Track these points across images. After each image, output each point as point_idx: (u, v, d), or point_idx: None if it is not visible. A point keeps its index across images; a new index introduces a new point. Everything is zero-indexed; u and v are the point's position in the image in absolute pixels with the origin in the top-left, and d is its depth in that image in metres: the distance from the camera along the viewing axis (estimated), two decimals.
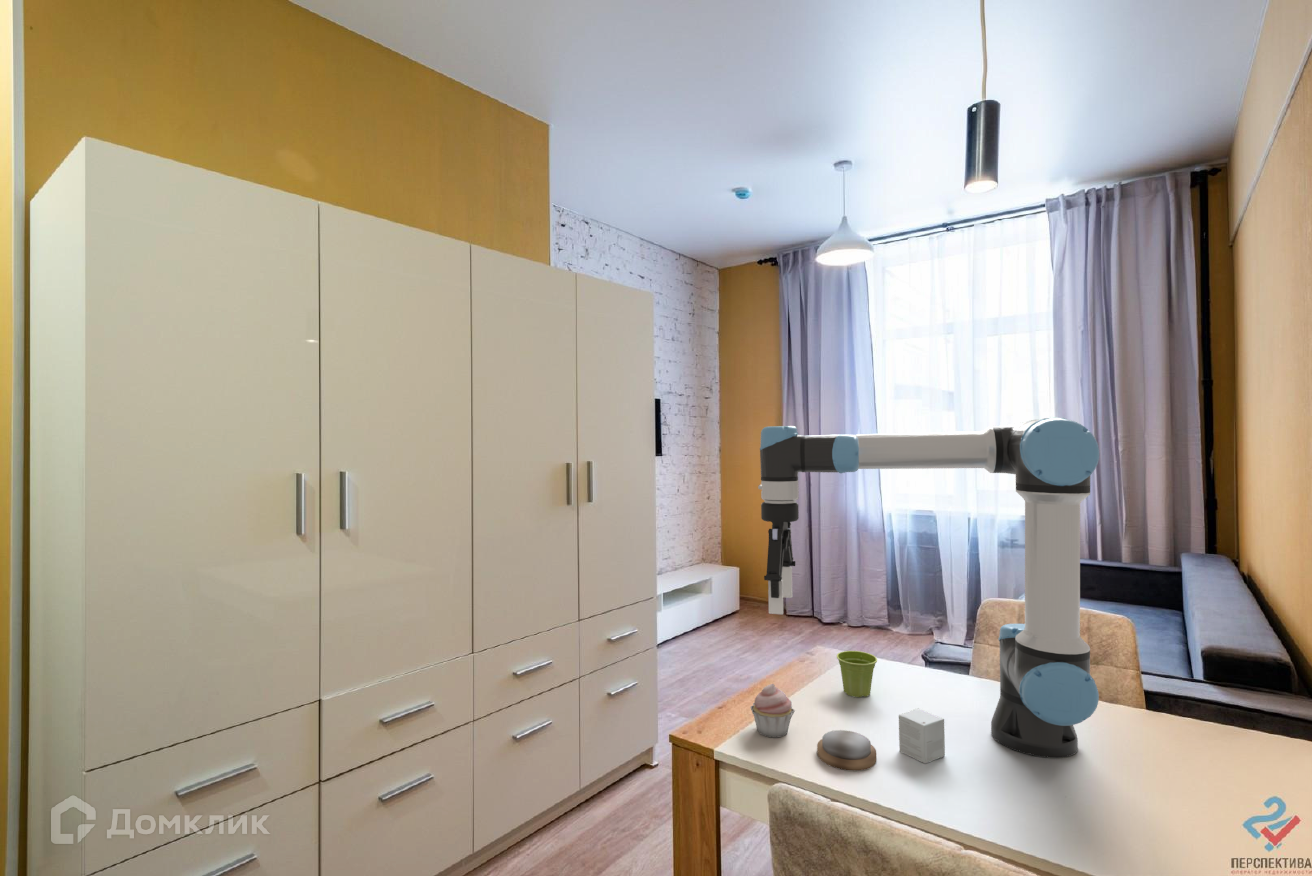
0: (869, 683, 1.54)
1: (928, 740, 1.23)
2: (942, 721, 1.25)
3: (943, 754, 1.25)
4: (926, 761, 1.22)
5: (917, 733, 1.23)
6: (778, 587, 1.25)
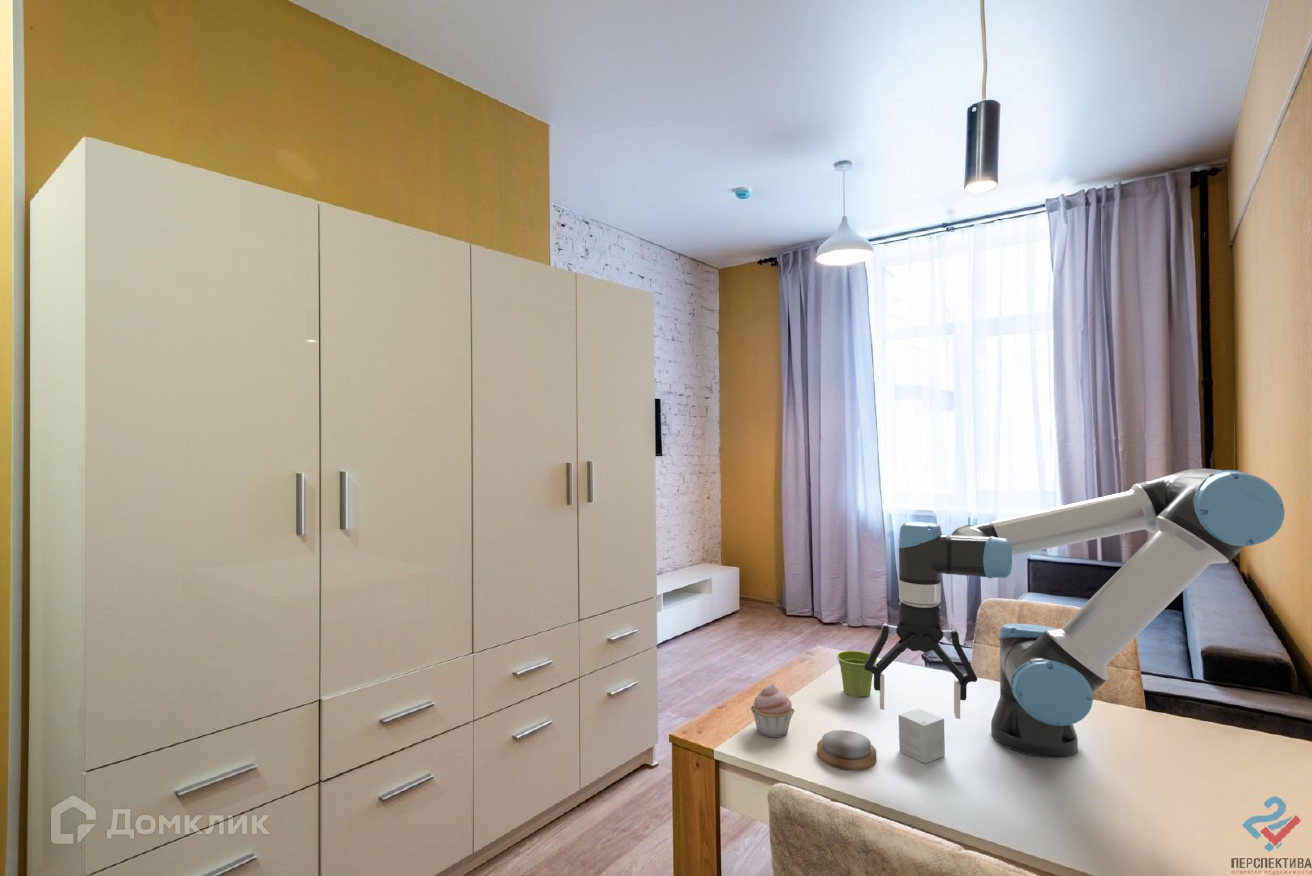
0: (869, 683, 1.54)
1: (928, 740, 1.23)
2: (942, 721, 1.25)
3: (943, 754, 1.25)
4: (926, 761, 1.22)
5: (917, 733, 1.23)
6: (875, 680, 1.28)
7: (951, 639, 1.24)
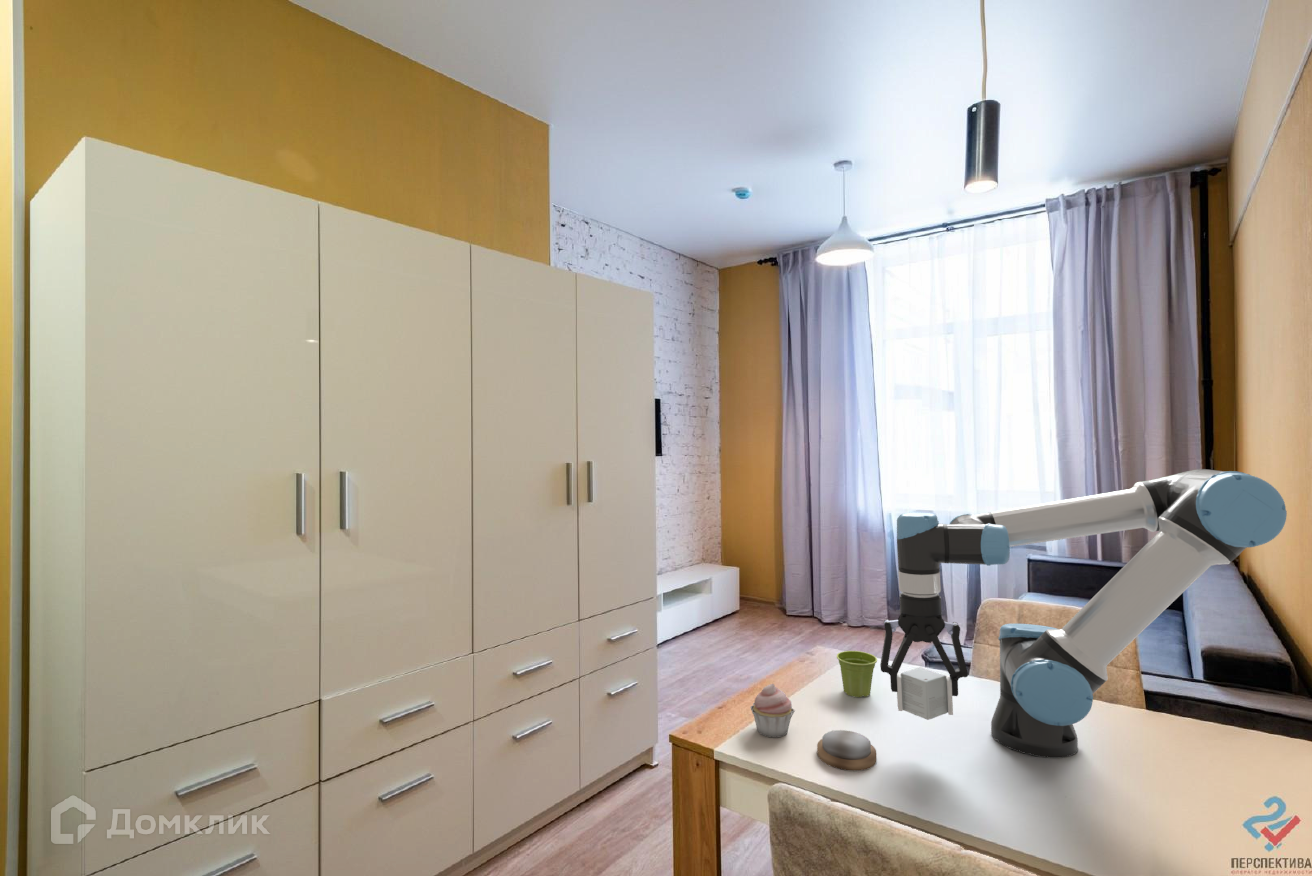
0: (869, 683, 1.54)
1: (931, 696, 1.23)
2: (944, 678, 1.25)
3: (946, 711, 1.25)
4: (929, 717, 1.22)
5: (919, 690, 1.23)
6: (892, 681, 1.27)
7: (952, 632, 1.24)
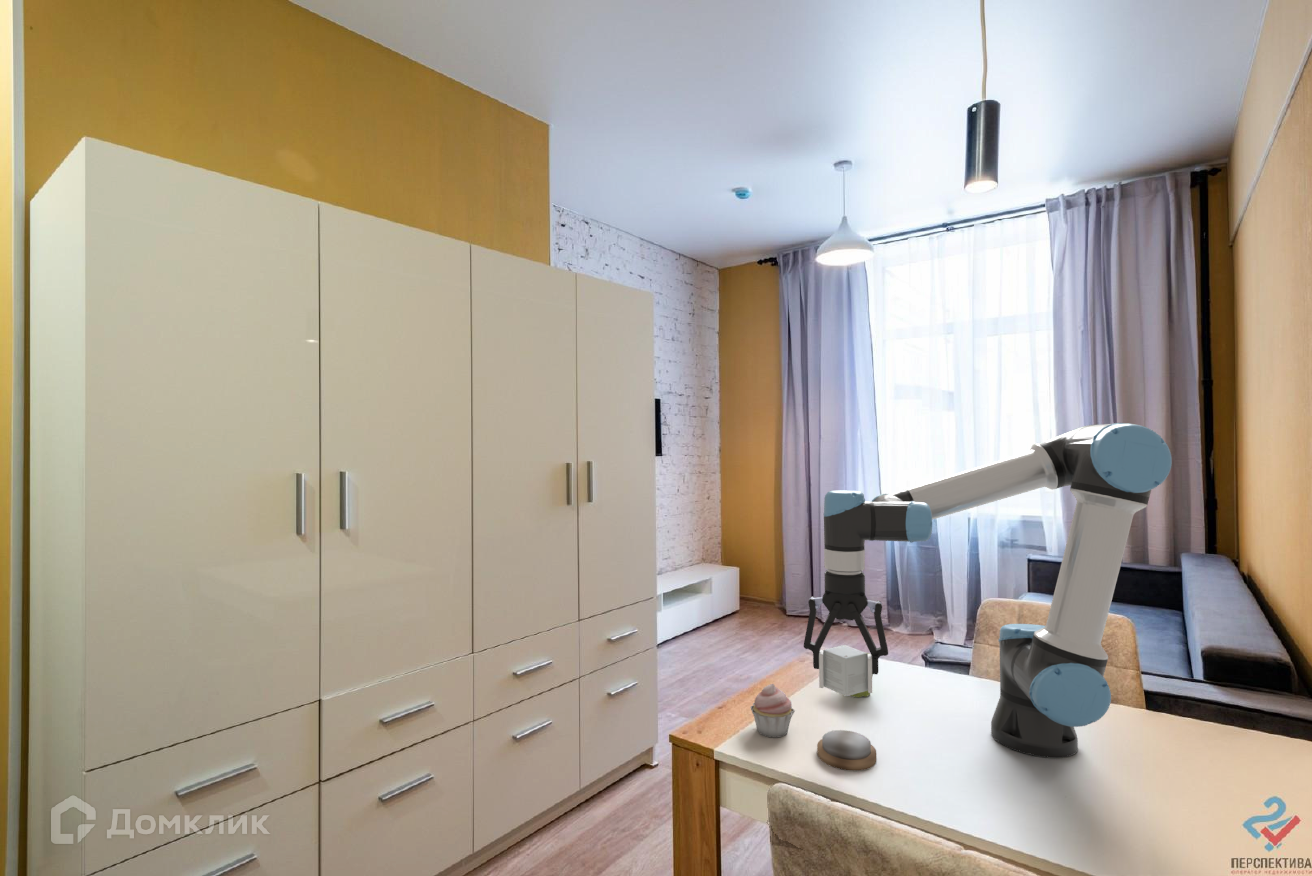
0: None
1: (850, 673, 1.22)
2: (865, 655, 1.24)
3: (866, 688, 1.24)
4: (847, 694, 1.22)
5: (839, 666, 1.23)
6: (814, 658, 1.27)
7: (874, 610, 1.23)
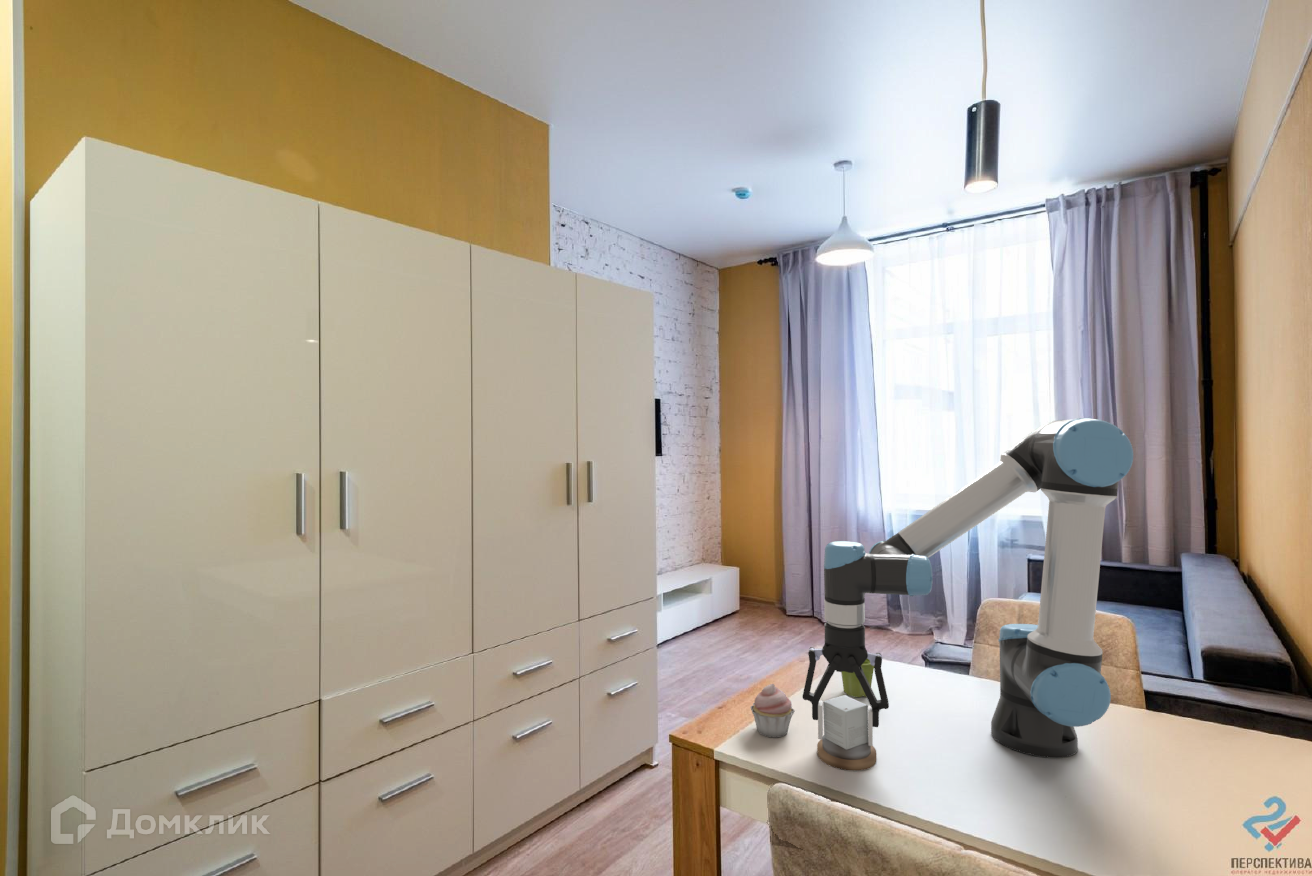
0: (869, 683, 1.54)
1: (850, 726, 1.22)
2: (865, 707, 1.24)
3: (866, 740, 1.24)
4: (848, 747, 1.22)
5: (839, 719, 1.23)
6: (813, 709, 1.27)
7: (874, 663, 1.23)
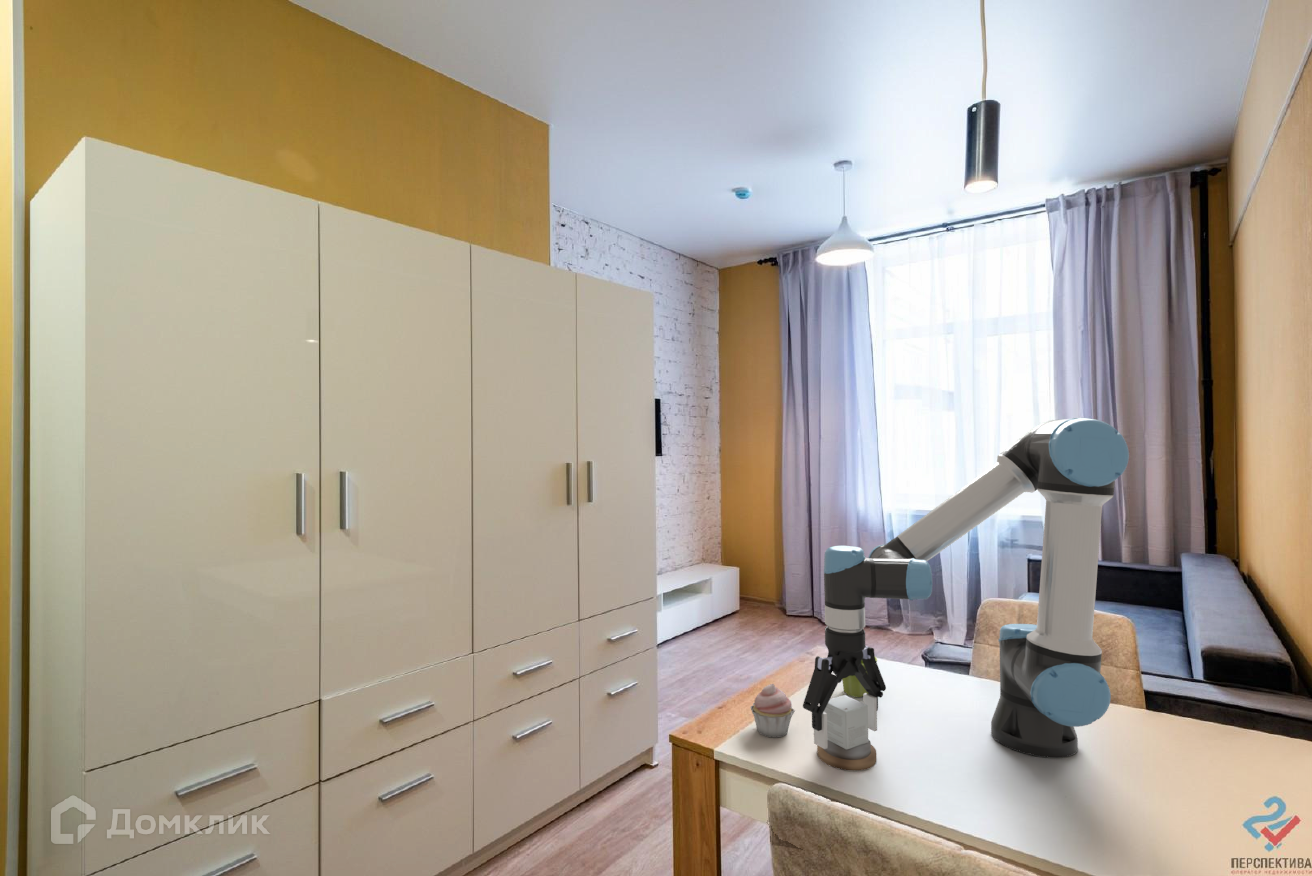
0: None
1: (850, 726, 1.22)
2: (865, 707, 1.24)
3: (866, 740, 1.24)
4: (848, 747, 1.22)
5: (839, 719, 1.23)
6: (818, 720, 1.21)
7: (869, 656, 1.28)
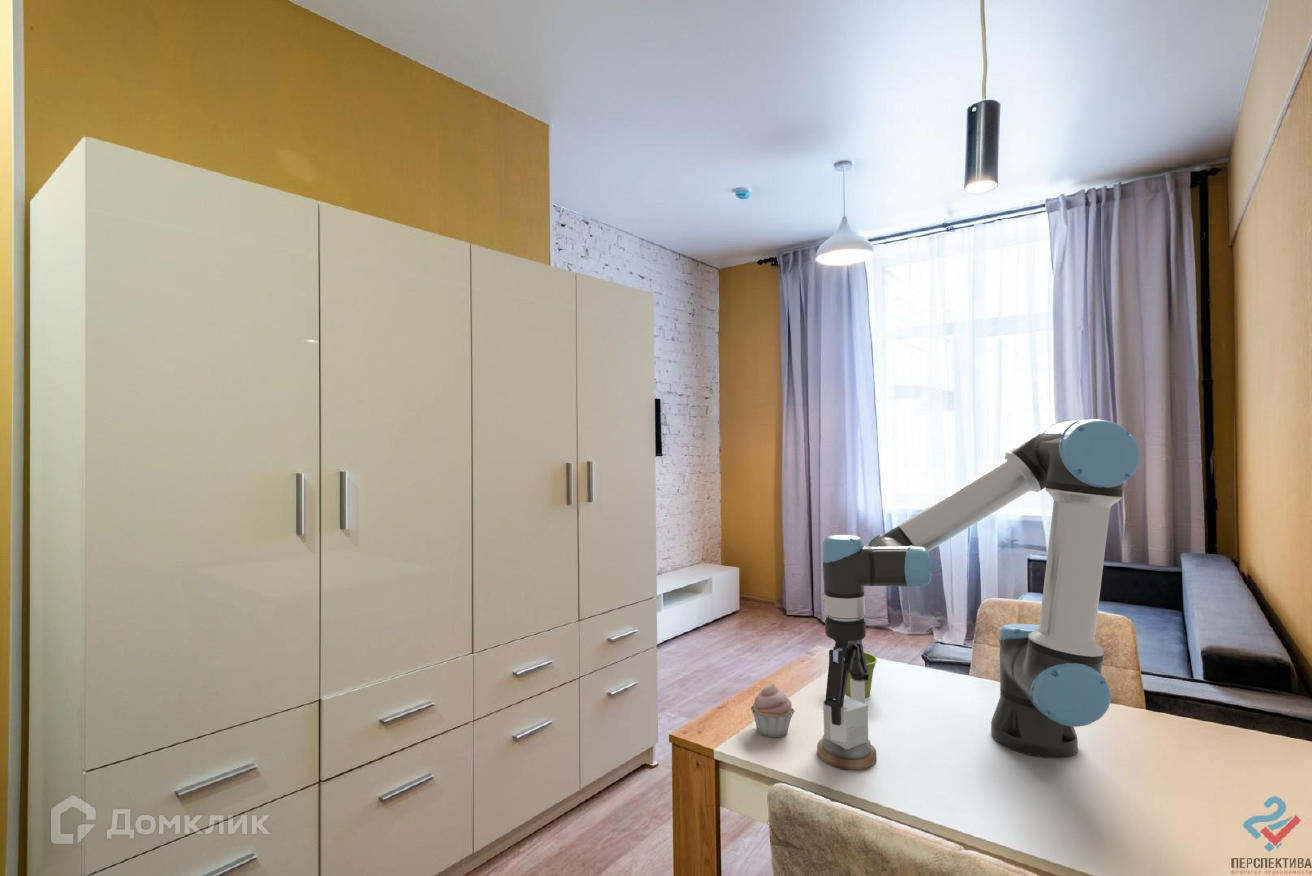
0: (869, 683, 1.54)
1: (850, 726, 1.22)
2: (865, 707, 1.24)
3: (866, 740, 1.24)
4: (848, 747, 1.22)
5: None
6: (839, 714, 1.18)
7: (859, 641, 1.30)
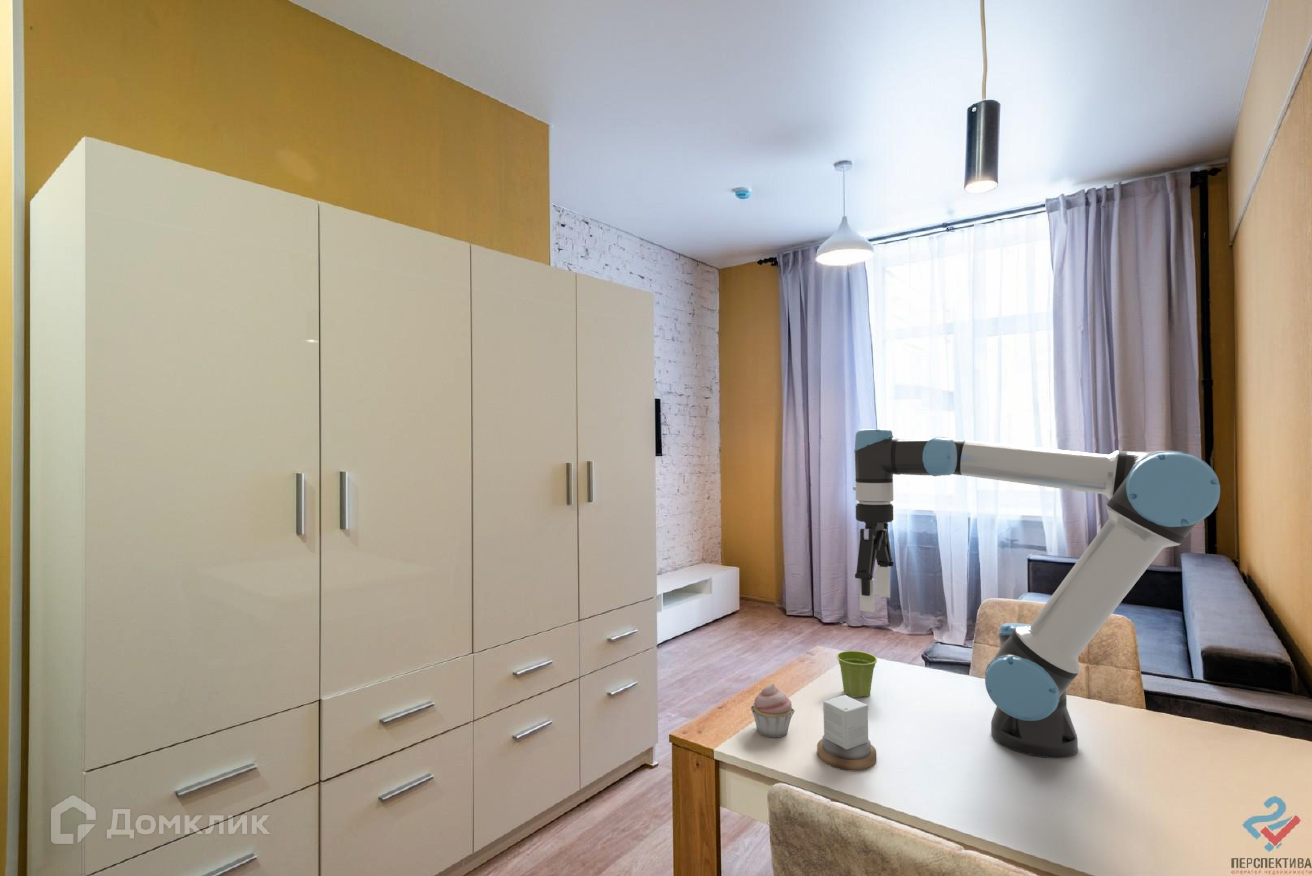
0: (869, 683, 1.54)
1: (850, 726, 1.22)
2: (865, 707, 1.24)
3: (866, 740, 1.24)
4: (848, 747, 1.22)
5: (839, 719, 1.23)
6: (868, 585, 1.29)
7: (886, 529, 1.40)
